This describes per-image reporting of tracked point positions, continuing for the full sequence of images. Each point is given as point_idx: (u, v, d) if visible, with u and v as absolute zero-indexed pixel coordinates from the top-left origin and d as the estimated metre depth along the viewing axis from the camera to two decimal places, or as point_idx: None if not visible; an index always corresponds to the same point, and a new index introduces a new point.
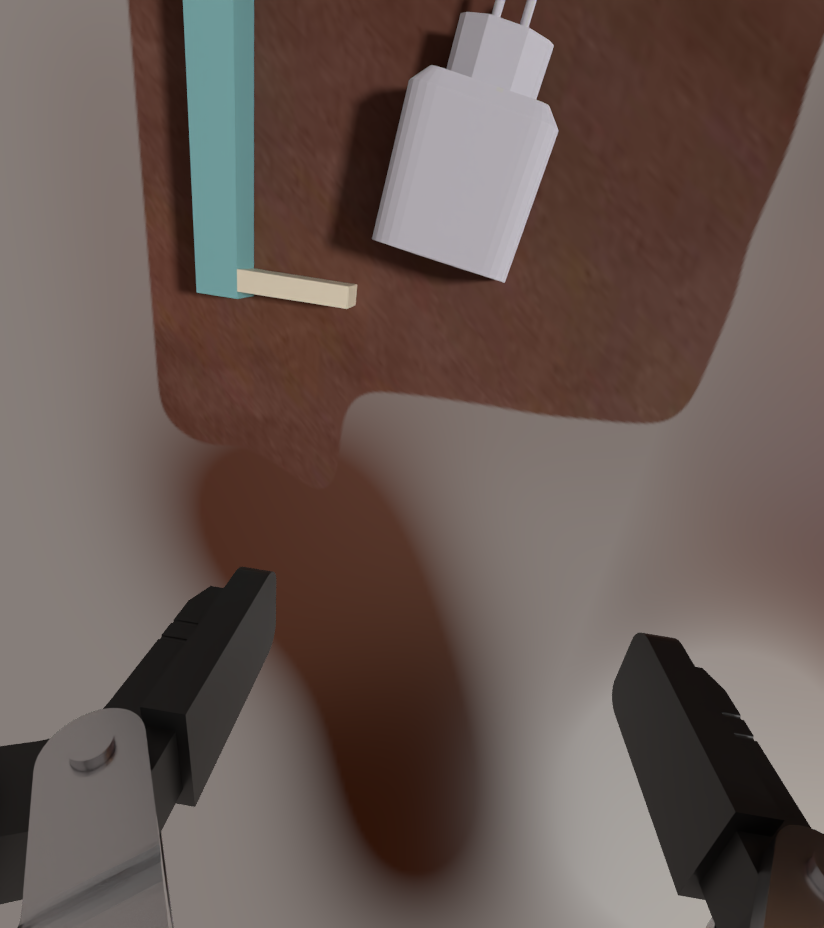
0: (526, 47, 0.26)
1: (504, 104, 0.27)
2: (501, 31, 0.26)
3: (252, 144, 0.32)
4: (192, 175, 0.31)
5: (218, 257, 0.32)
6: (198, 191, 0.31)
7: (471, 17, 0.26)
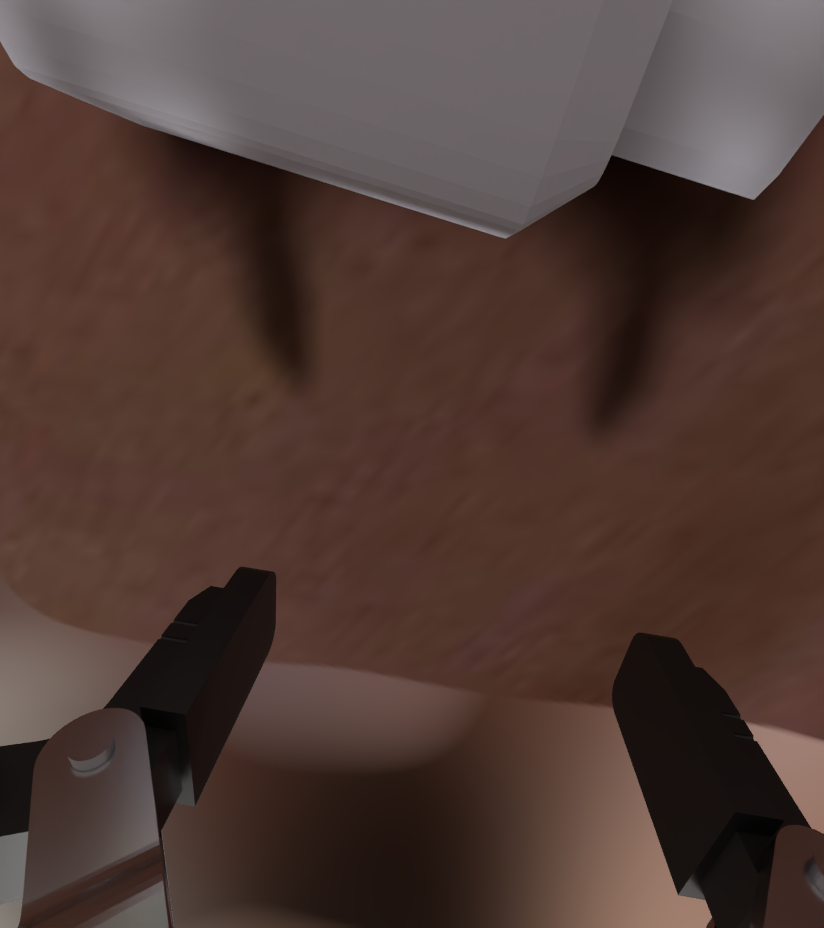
0: (797, 67, 0.07)
1: None
2: None
3: None
4: None
5: None
6: None
7: None
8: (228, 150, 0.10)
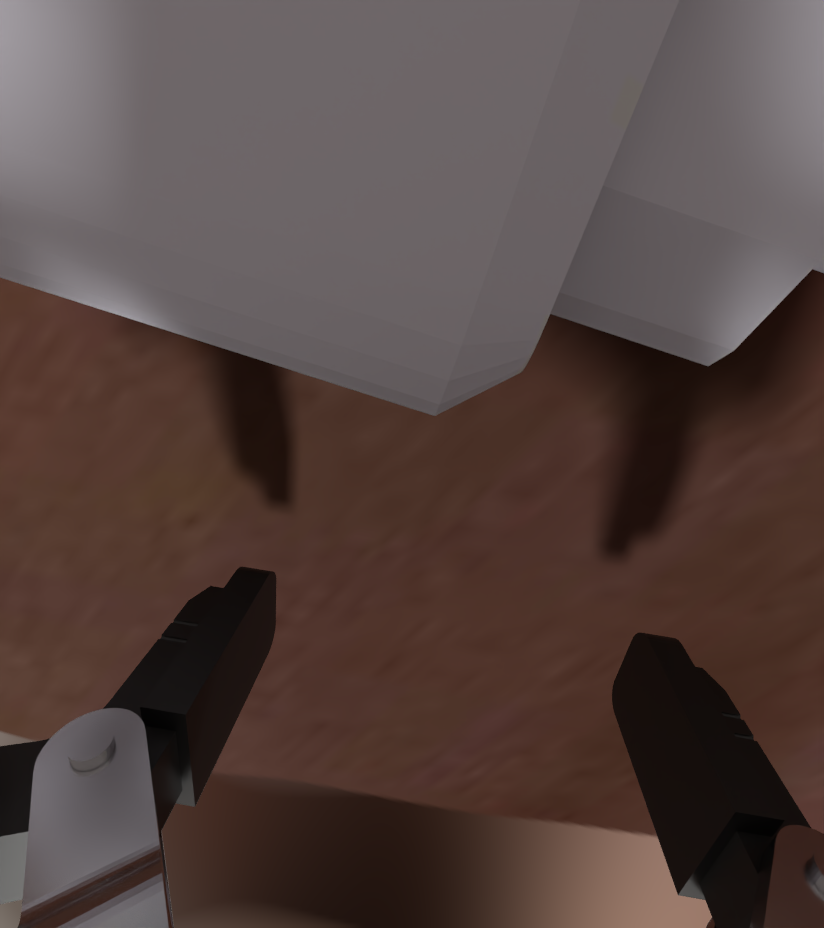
0: (752, 252, 0.06)
1: (552, 129, 0.05)
2: None
3: None
4: None
5: None
6: None
7: None
8: None
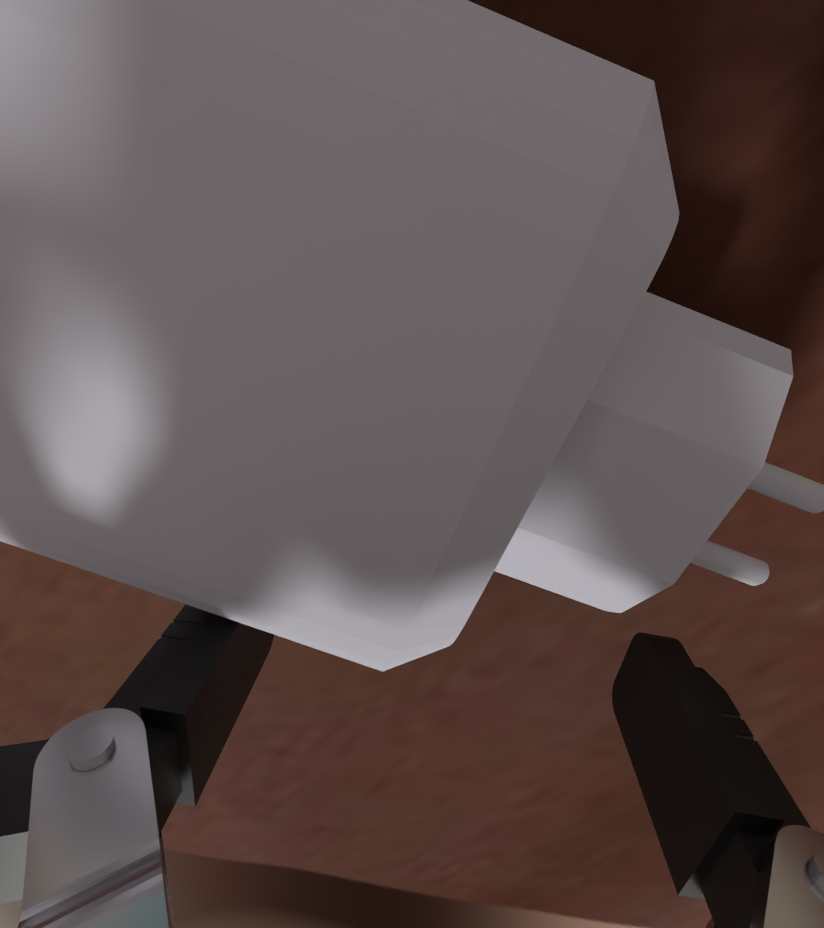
0: (624, 572, 0.08)
1: (459, 542, 0.07)
2: (694, 505, 0.07)
3: None
4: None
5: None
6: None
7: (771, 396, 0.07)
8: None
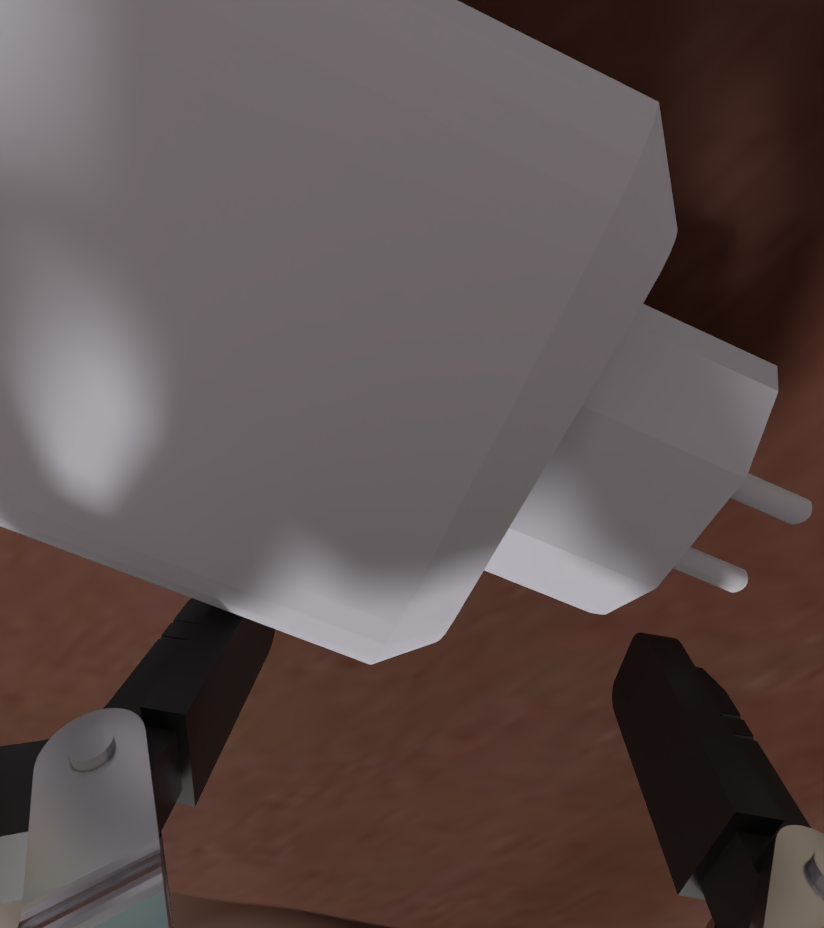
0: (610, 574, 0.08)
1: (453, 539, 0.07)
2: (679, 512, 0.08)
3: None
4: None
5: None
6: None
7: (756, 410, 0.07)
8: None
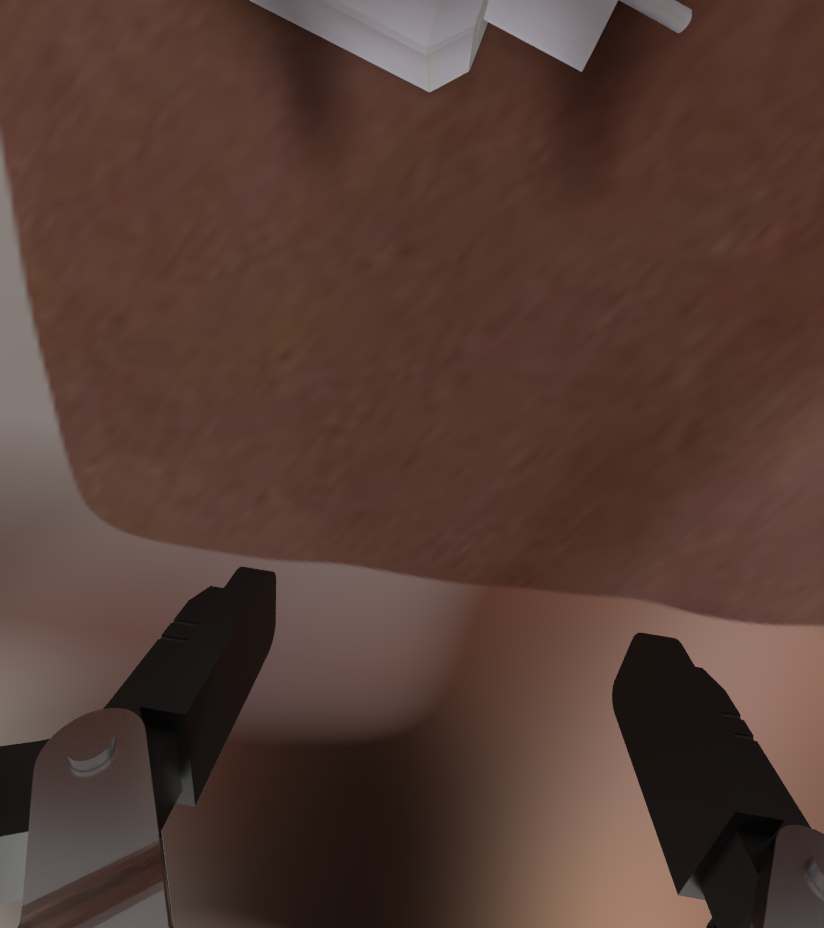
0: None
1: None
2: None
3: None
4: None
5: None
6: None
7: None
8: None
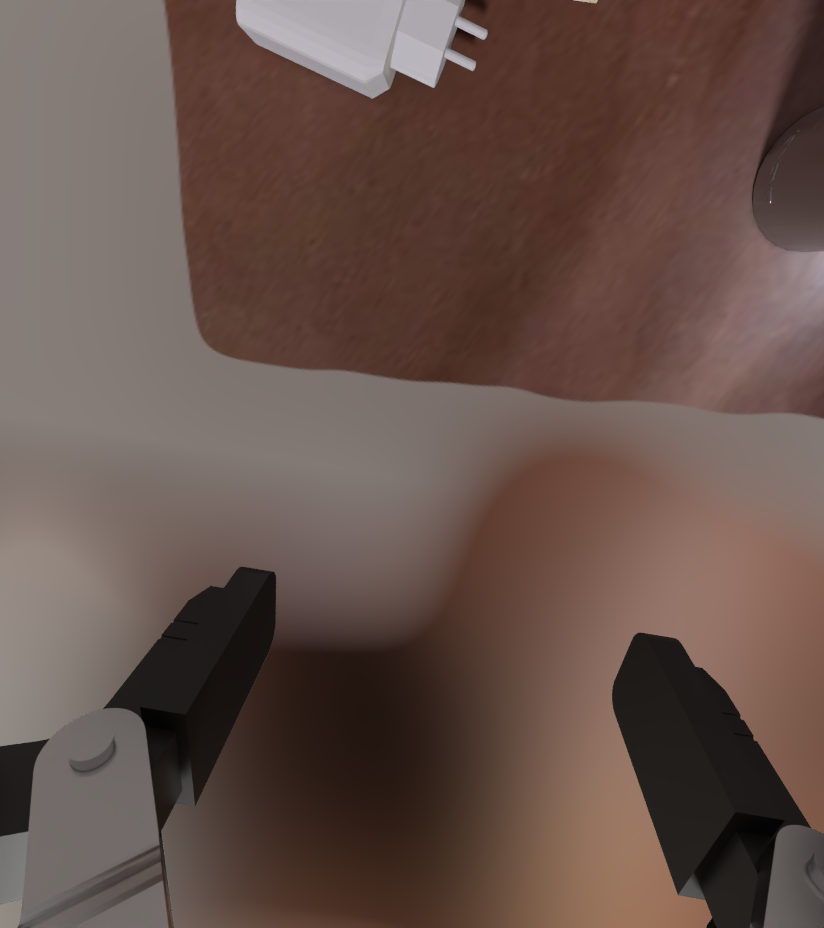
0: (430, 49, 0.30)
1: (383, 14, 0.28)
2: (444, 21, 0.29)
3: None
4: None
5: None
6: None
7: None
8: (285, 55, 0.32)
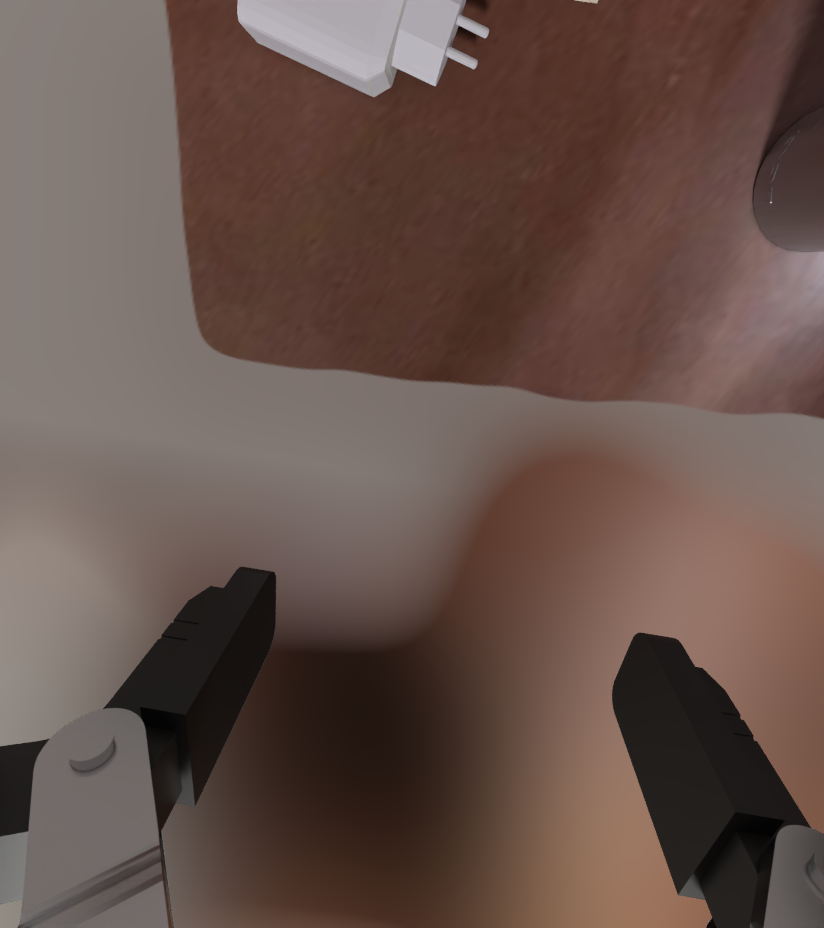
0: (432, 48, 0.30)
1: (385, 12, 0.28)
2: (446, 19, 0.29)
3: None
4: None
5: None
6: None
7: None
8: (286, 54, 0.32)
